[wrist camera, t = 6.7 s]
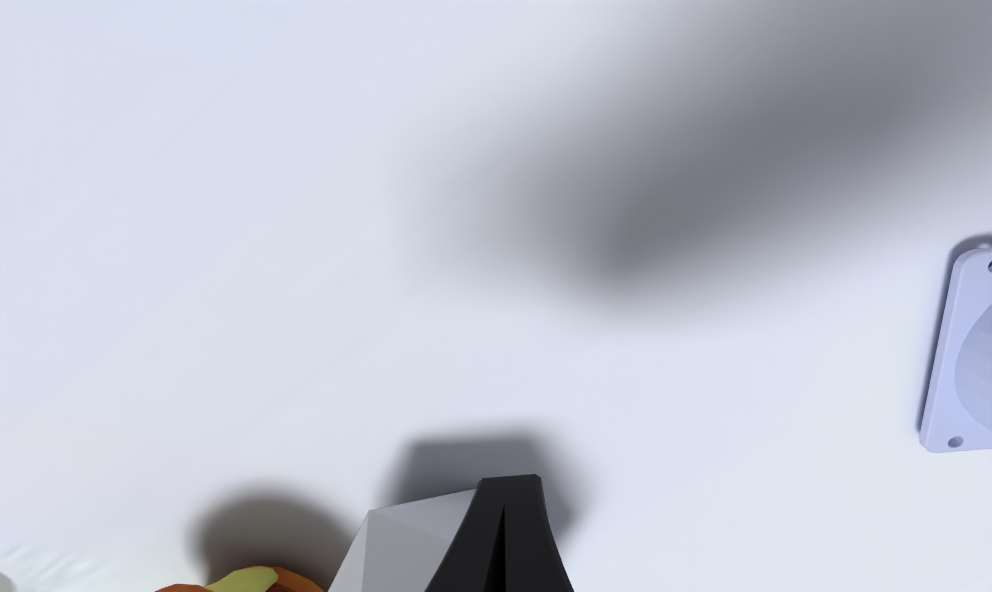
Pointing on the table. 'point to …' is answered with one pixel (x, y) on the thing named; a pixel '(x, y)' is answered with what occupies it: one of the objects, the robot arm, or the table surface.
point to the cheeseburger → (253, 582)
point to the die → (402, 545)
